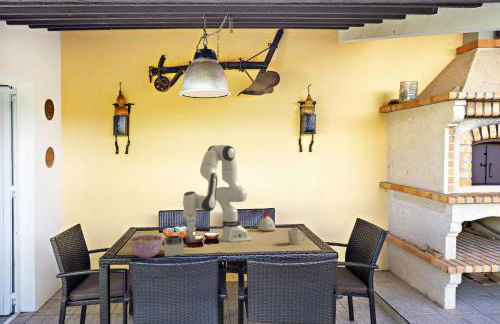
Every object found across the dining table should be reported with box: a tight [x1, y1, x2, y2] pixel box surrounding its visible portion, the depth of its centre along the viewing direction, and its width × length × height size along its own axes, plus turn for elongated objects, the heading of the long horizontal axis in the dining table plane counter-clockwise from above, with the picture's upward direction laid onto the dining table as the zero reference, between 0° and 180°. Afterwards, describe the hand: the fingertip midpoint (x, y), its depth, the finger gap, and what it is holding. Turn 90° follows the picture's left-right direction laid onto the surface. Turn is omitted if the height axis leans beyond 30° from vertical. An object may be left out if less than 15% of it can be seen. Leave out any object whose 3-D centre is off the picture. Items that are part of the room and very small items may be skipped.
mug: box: [287, 227, 307, 245], centre depth 299 cm, size 8×13×10 cm, turn 91°
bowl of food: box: [130, 234, 164, 259], centre depth 266 cm, size 20×20×12 cm
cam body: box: [163, 235, 185, 257], centre depth 276 cm, size 12×18×10 cm
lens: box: [185, 226, 196, 243], centre depth 283 cm, size 6×6×9 cm
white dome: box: [257, 211, 276, 233], centre depth 345 cm, size 14×14×15 cm
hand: (190, 236), depth 283 cm, fingers closed on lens, 6 cm apart
